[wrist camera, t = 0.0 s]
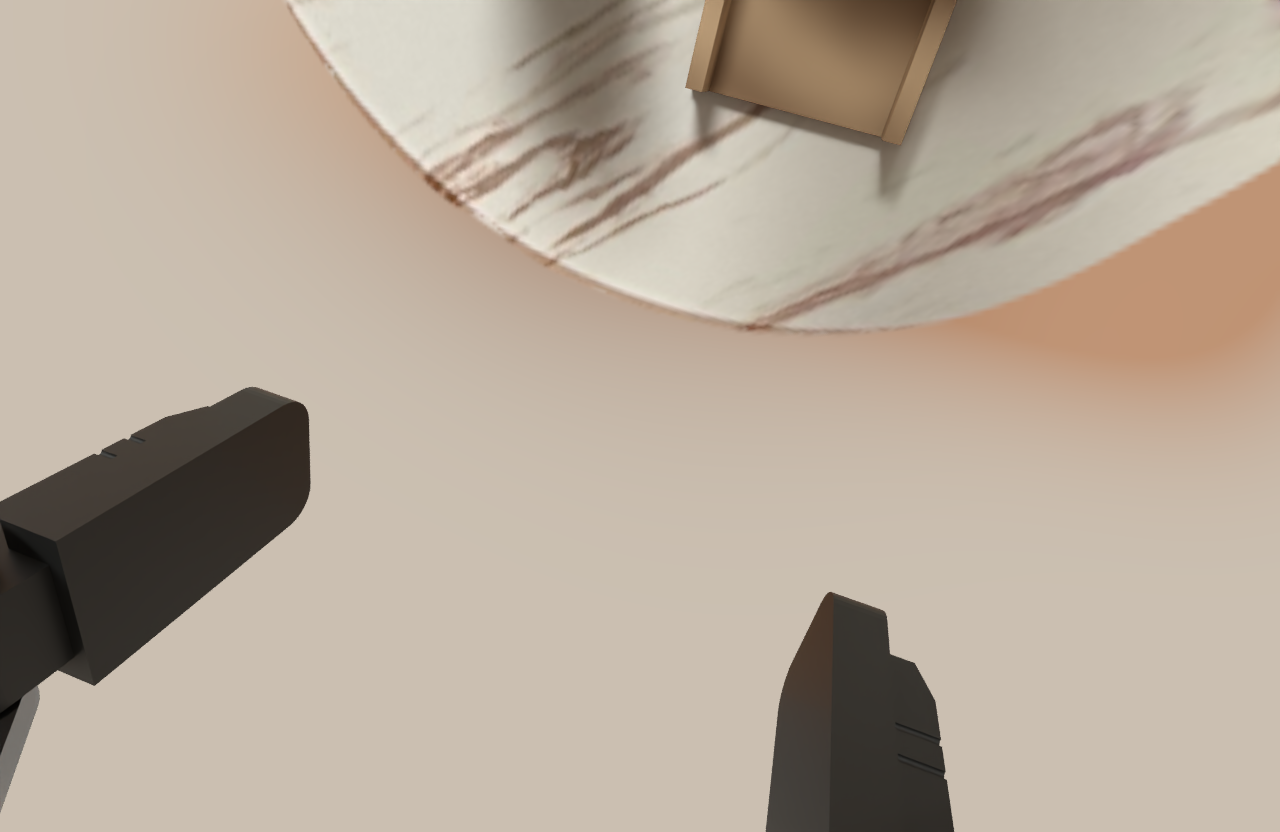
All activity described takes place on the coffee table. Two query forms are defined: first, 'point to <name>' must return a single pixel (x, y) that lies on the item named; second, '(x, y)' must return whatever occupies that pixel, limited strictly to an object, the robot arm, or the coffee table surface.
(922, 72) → the book rack
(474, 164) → the coffee table surface
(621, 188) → the coffee table surface
